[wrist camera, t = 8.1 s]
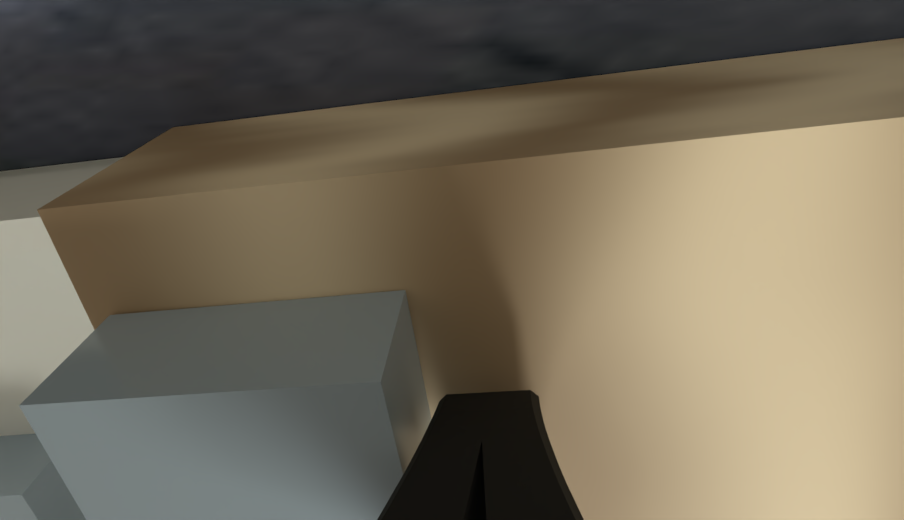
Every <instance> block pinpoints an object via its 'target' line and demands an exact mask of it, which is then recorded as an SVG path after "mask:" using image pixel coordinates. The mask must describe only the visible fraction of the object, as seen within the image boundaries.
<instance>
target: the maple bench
mask: <svg viewBox="0 0 904 520" xmlns="http://www.w3.org/2000/svg"><path fill="white" fill-rule="evenodd" d="M37 211H38V213H39V215H40V217H41V219H42V222H43V224H44V226H45V228H46V230H47V232H48V234H49V236H50V238H51V240H52V242H53V244H54V247H55V249H56V251H57V253H58V255H59V257H60V259H61V261H62V263H63V265H64V267H65V269H66V272H67V274H68V276H69V278H70V280H71V282H72V284H73V286H74V288H75V290H76V292H77V294H78V297H79V299H80V301H81V303H82V305H83V307H84V309H85V311H86V313H87V315H88V317H89V319H90V322H91V324H92V326H93V328H94V330H95V329H96V328H97V327H98V326H99V325H100V324H101V323H102V322H103V321H104V320H105V319H106V318H107V317H108V316H109V315H116V314H127V313H139V312H151V311H163V310H175V309H186V308H198V307H210V306H222V305H233V304H245V303H257V302H269V301H281V300H292V299H304V298H316V297H328V296H340V295H351V294H363V293H375V292H387V291H399V290H405V291H406V295H407V300H408V305H409V310H410V315H411V320H412V325H413V330H414V335H415V340H416V345H417V350H418V355H419V360H420V365H421V369H422V374H423V379H424V384H425V389H426V394H427V399H428V404H429V409H430V414H431V419H432V417H433V415H434V413H435V410H436V408H437V406H438V403H439V401H440V400H441V399H442V398H443V397H444V396H445V395H446V394H463V393H482V392H500V391H519V390H531V391H533V392H534V393H535V394H536V395H538V396H539V402H540V408H541V413H542V417H543V421H544V424H545V428H546V431H547V434H548V437H549V440H550V443H551V446H552V448H553V451H554V454H555V456H556V459H557V462H558V464H559V467H560V469H561V471H562V474H563V476H564V478H565V481H566V483H567V485H568V487H569V489H570V492H571V494H572V496H573V498H574V500H575V502H576V504H577V506H578V509H579V511H580V513H581V515H582V517H583V519H584V520H904V38H898V39H890V40H882V41H874V42H866V43H858V44H849V45H841V46H833V47H825V48H817V49H809V50H800V51H792V52H784V53H776V54H768V55H760V56H751V57H743V58H735V59H727V60H719V61H711V62H703V63H694V64H686V65H678V66H670V67H662V68H654V69H645V70H637V71H629V72H621V73H613V74H605V75H596V76H588V77H580V78H572V79H564V80H556V81H548V82H539V83H531V84H523V85H515V86H507V87H499V88H490V89H482V90H474V91H466V92H458V93H450V94H441V95H433V96H425V97H417V98H409V99H401V100H393V101H384V102H376V103H368V104H360V105H352V106H344V107H335V108H327V109H319V110H311V111H303V112H295V113H286V114H278V115H270V116H262V117H254V118H246V119H238V120H229V121H221V122H213V123H205V124H197V125H189V126H180V127H173V128H171V129H169V130H168V131H166V132H165V133H163V134H161V135H160V136H158V137H156V138H155V139H153V140H151V141H150V142H148V143H146V144H145V145H143V146H141V147H140V148H138V149H136V150H135V151H133V152H132V153H130V154H128V155H127V156H125V157H123V158H122V159H120V160H118V161H117V162H115V163H113V164H112V165H110V166H108V167H107V168H105V169H103V170H102V171H100V172H98V173H97V174H95V175H94V176H92V177H90V178H89V179H87V180H85V181H84V182H82V183H80V184H79V185H77V186H75V187H74V188H72V189H70V190H69V191H67V192H65V193H64V194H62V195H61V196H59V197H57V198H56V199H54V200H52V201H51V202H49V203H47V204H46V205H44V206H42V207H41V208H39V209H37Z"/></svg>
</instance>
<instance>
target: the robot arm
mask: <svg viewBox="0 0 904 520" xmlns="http://www.w3.org/2000/svg"><path fill="white" fill-rule="evenodd" d="M377 520H584V519H583V517H582V515H581V513H580V511H579V509H578V506H577V504H576V502H575V500H574V498H573V496H572V494H571V492H570V489H569V487H568V485H567V483H566V481H565V478H564V476H563V474H562V471H561V469H560V467H559V464H558V462H557V459H556V456H555V454H554V451H553V448H552V446H551V443H550V440H549V437H548V434H547V431H546V428H545V424H544V421H543V417H542V413H541V408H540V402H539V396H538V395H536V394H535V393H534V392H533V391H531V390H519V391H500V392H482V393H463V394H446V395H445V396H444V397H443V398H442V399H441V400H440V401H439V403H438V406H437V408H436V410H435V413H434V415H433V417H432V419H431V421H430V424H429V426H428V428H427V430H426V432H425V434H424V436H423V438H422V440H421V442H420V444H419V446H418V448H417V450H416V452H415V454H414V455H413V457H412V459H411V461H410V463H409V465H408V467H407V469H406V471H405V472H404V474H403V476H402V478H401V479H400V481H399V483H398V484H397V486H396V488H395V490H394V491H393V493H392V495H391V497H390V498H389V500H388V502H387V504H386V505H385V507H384V509H383V510H382V512H381V514H380V516H379V517H378V519H377Z"/></svg>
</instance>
